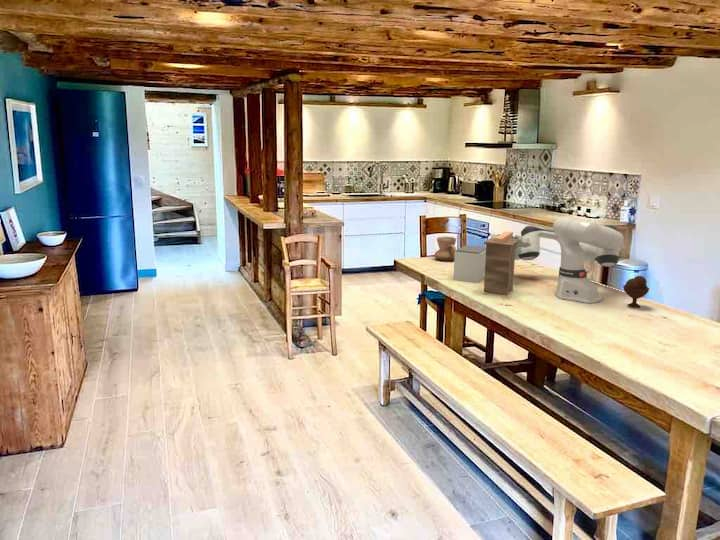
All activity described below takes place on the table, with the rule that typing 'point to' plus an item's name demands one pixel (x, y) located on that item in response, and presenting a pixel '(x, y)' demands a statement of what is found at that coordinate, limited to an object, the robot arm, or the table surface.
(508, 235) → the terracotta block
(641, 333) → the table surface
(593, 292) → the robot arm
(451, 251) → the ceramic jug
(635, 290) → the ice cream bowl
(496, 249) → the walnut stand
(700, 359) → the table surface
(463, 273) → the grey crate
